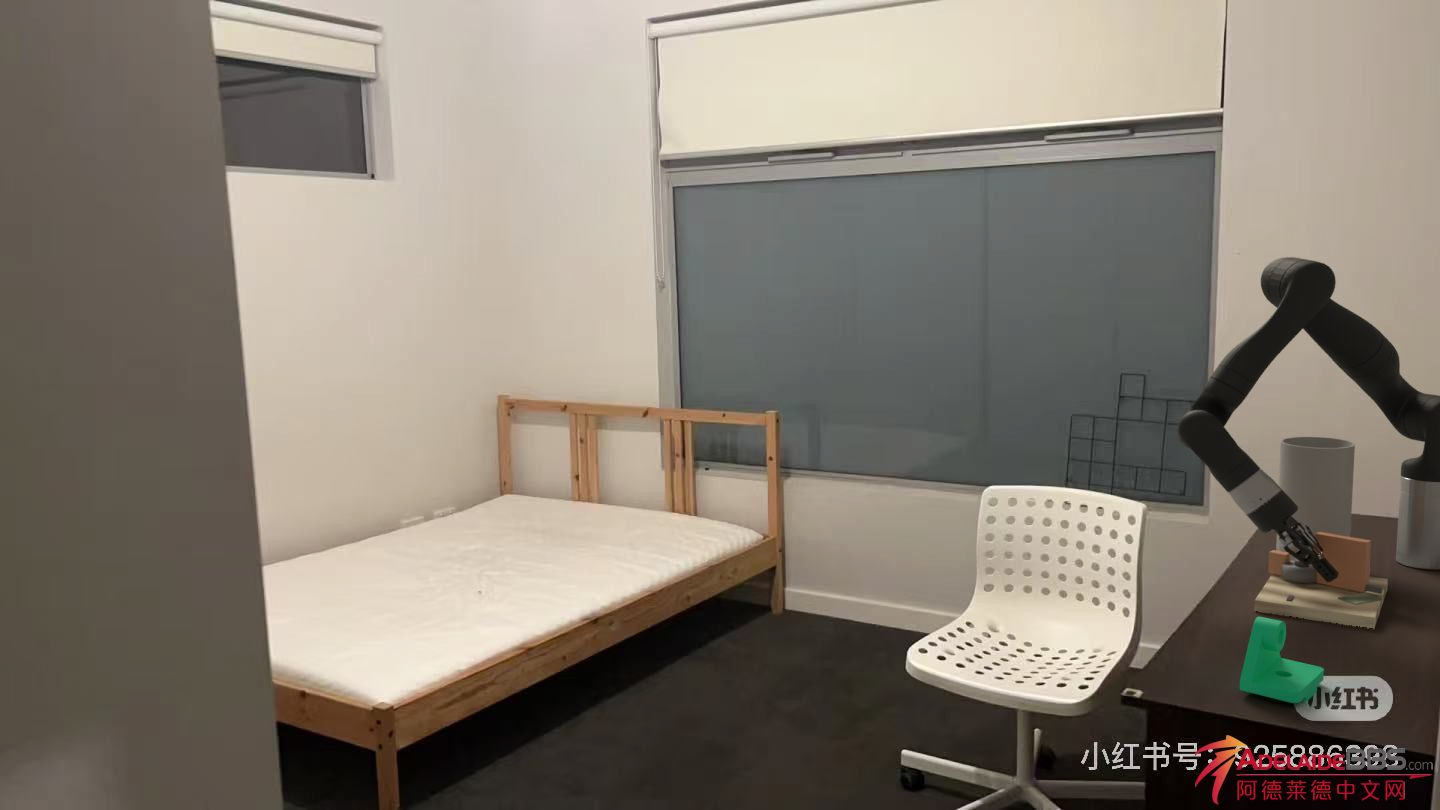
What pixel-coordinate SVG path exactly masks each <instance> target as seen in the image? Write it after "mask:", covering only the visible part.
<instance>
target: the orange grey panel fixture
mask: <svg viewBox="0 0 1440 810" xmlns="http://www.w3.org/2000/svg"><path fill="white" fill-rule="evenodd" d="M1315 538H1316V539H1317V541H1318V543H1319V544H1320V546H1321V547H1322V548H1323V553H1324V555H1325V556H1324V557H1325V558H1326V559H1327V561H1328V562H1329V563H1330V564H1331V565H1332V566H1333V567H1334V568H1335V569H1336V570H1337V571H1338V573H1339V575H1338V577H1337V578H1336V579H1334V580H1333V581H1331V582H1326V581H1325V580H1324V578H1323V577H1322V576H1321V575H1320V574H1319V573H1318V572H1317V571H1316V570H1315V569H1314V567H1313V566H1310V565H1308V566H1306V565H1304V564H1303V563H1302V562H1300V561H1299V560H1298V559H1296V558H1295V559H1294V560H1290V554H1289V553H1287V552H1282V551H1277V550H1275V549H1272V550H1270V551H1269V552H1268V574H1269V573H1270V574H1271V575H1272V574H1277V575H1282V578H1284V579H1286V580H1288V581H1292V582H1298V583H1321V584H1326V585H1330V586H1335V587H1340V588H1345V589H1350V590H1355V591H1359V592H1366V591H1369V592H1374V593H1379V594H1381V593H1382V589H1383V587H1379V586H1374V585H1369V569H1370V570H1371V565H1370V564H1371V546H1372V540H1370V539H1364V538H1359V537H1353V536H1350V537H1348V536H1342V535H1336V534H1330V533H1324V532H1318V533H1316V534H1315ZM1324 557H1323V558H1324Z"/></svg>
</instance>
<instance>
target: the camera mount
mask: <svg viewBox="0 0 1440 810" xmlns="http://www.w3.org/2000/svg"><path fill="white" fill-rule="evenodd" d="M1250 632H1251V633H1250V637H1249V641H1248V644H1247V649H1246V654H1245V656H1244V662H1243V667H1242V671H1241V675H1240V679H1239V690H1240V691H1243V692H1247V693H1249V694H1250V693H1251V694H1253V695H1254V694H1255V695H1259V696H1263V697H1266V698H1271V699H1275V700H1279V701H1283V702H1287V703H1291V704H1299V703H1301V702H1304V703H1307V702H1308V701H1309V700H1310V699H1311V698H1312V697H1313V696H1314V695H1315V694H1316V693H1317V691H1318V686H1319V685H1320V684H1321V683H1322V682H1323V681H1324V673H1325V668H1323V667H1321V666H1318V665H1314V664H1308V663H1304V662H1300V661H1295V660H1293V659H1292V660H1291V659H1288V658H1283V657H1281V653H1280V652H1281V651H1282V649H1283V648H1284V646H1285V643H1286V637H1287V624H1286V622H1285V621H1282V620H1279V619H1273V618H1267V617H1264V616H1263V617H1262V616H1257V617H1256V618H1255V620H1254V621H1253V624H1252V628H1251V631H1250Z"/></svg>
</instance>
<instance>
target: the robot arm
mask: <svg viewBox="0 0 1440 810" xmlns="http://www.w3.org/2000/svg"><path fill="white" fill-rule="evenodd" d="M1334 272H1335V271H1333V269H1332V268H1331V267H1330V266H1329V265H1328V264H1325V263H1324V262H1320V261H1317V260H1310V259H1306V258H1300V257H1295V256H1294V257H1291V256H1289V257H1288V256H1287V257H1280V258H1276V259H1274V260H1272V261H1270V262H1268V264H1267V265H1266V266H1265V267H1264V268H1263V270H1262V272H1261V277H1260V288H1261V291H1262V294H1263V295H1264V297H1265V298H1266V301H1268V302H1269V303H1270V304H1271V305H1273V306H1274V307H1276V309H1275V310H1274V312H1273V314H1272V315H1271V316H1270V317H1269V319H1268V320H1266V321H1265V322H1264V324H1262V325H1261V326H1260V327H1259V328H1258V329H1256V330H1255V331H1254V332H1253V333H1251V334H1249V336H1248V337H1246V338H1245V339H1243V340H1242V341H1241V342H1240V343H1238V344H1237V345H1235V346H1234V347H1233V348H1232V349H1230V351H1229V352H1228V353H1227V354H1226V355H1225V356H1224V358H1222V360H1221V361H1220V363H1219V364H1218V365H1217V367H1216V368H1215V370H1214V371H1213V372H1212V374H1211V376H1210V377H1209V378H1208V380H1207V382H1206V383H1205V385H1204V387H1203V390H1202V391H1201V393H1200V395H1199V396H1198V397H1197V398H1196V400H1195V401H1194V402H1193V404H1192V405H1191V406H1190V407H1189V409H1188V410H1187V412H1186V413H1185V414H1184V415H1182V417H1181V419H1180V420H1179V422H1178V425H1177V427H1176V428H1177V429H1176V434H1177V438H1178V440H1179V441H1180V443H1181V444H1182V445H1183V446H1184V447H1186V448H1187V449H1190V450H1191V451H1192V452H1193V453H1194V454H1195V455H1196V456H1197V457H1198V458H1199V459H1200V460H1201V462H1202V463H1204V464H1205V466H1207V467H1208V470H1209V471H1210V473H1211V475H1212V476H1213V478H1214V479H1215V480H1216V481H1217V482H1218V483H1219V484H1220V486H1221V487H1222V488H1223V489H1224V490H1225V491H1226V492H1227V493H1228V494H1229V496H1230V498H1232V500H1233V501H1234V503H1235V504H1236V506H1238V507H1239V508H1240V510H1241V511H1242V512H1243V513H1244V515H1246V517H1248V519H1249V520H1250V521H1251V523H1253V524H1254V526H1256V528H1258V529H1259V531H1260V532H1261V533H1263V534H1266V533H1269V532H1270V531H1272V530H1274V531H1275V533H1276V535H1277V534H1278V535H1279V537H1280V538H1279V540H1280V541H1281V542H1282V543H1283V544H1284V545H1285V547H1284V549H1285V551H1287V552H1288V553H1289V554H1291V555H1292V556H1293V557H1295V558H1296V559H1298V560H1299V561H1300V562H1302V563H1303V564H1304V565H1306V566H1308V565H1310V566H1313V567H1314V569H1315V570H1316V571H1317V572H1318V573H1319V574H1320V575H1321V576H1322V577H1323V578H1324V580H1325V581H1326V582H1331V581H1333V580H1334V579H1336V578H1337V577H1338V575H1339V573H1338V571H1337V570H1336V569H1335V568H1334V567H1333V566H1332V565H1331V564H1330V563H1329V562H1328V561H1327V559H1326V558H1325V557H1324V556H1325V555H1324V553H1323V548H1322V547H1321V546H1320V544H1319V543H1318V541H1317V539H1316V538H1315V536H1314V535H1313V533H1312V532H1311V530H1310V528H1309V527H1308V526H1307V525H1305V526H1304V525H1303V524H1302V523H1301V522H1299V523H1298V521H1297V520H1295V519H1294V518H1293V517H1292V515H1293V514H1294V513H1295V512H1297V510H1298V506H1297V505H1296V504H1295V503H1294V502H1293V501H1292V500H1291V499H1290V497H1289V496H1288V495H1287V494H1286V493H1285V492H1284V491H1283V490H1282V489H1281V488H1280V487H1279V483H1276V481H1275V480H1274V479H1273V478H1272V477H1271V476H1270V475H1269V474H1267V472H1265V471H1264V470H1262V468H1261V467H1260V466H1259V465H1258V464H1257V462H1255V460H1253V459H1252V458H1251V457H1250V455H1249V454H1248V453H1246V451H1244V450H1243V449H1242V448H1241V446H1239V445H1238V443H1237V442H1236V441H1235V439H1234V438H1233V437H1232V435H1231V434H1230V432H1229V431H1228V430H1227V429H1226V428H1225V426H1226V425H1227V423H1228V422H1229V420H1230V418H1231V417H1232V415H1233V413H1234V412H1235V411H1236V410H1237V409H1238V408H1239V407H1240V405H1241V404H1242V403H1243V402H1244V401H1245V400H1246V398H1247V397H1248V395H1249V393H1250V392H1251V391H1252V389H1253V388H1254V387H1255V385H1256V384H1257V383H1258V381H1259V379H1260V378H1261V377H1262V375H1263V374H1264V373H1265V371H1266V370H1267V368H1269V366H1270V365H1271V363H1272V362H1273V361H1274V360H1275V359H1276V358H1277V356H1279V354H1281V352H1282V351H1283V350H1284V349H1285V348H1286V347H1287V346H1288V345H1289V344H1290V343H1291V342H1292V341H1293V340H1294V339H1295V338H1296V336H1297V335H1298V334H1299V333H1300V332H1301V331H1302V330H1304V332H1306V334H1307V335H1308V336H1309V337H1310V338H1311V339H1312V340H1313V341H1314V342H1315V343H1316V345H1318V346H1319V347H1320V349H1321V350H1322V351H1324V353H1325V354H1326V355H1327V356H1328V357H1329V358H1330V359H1331V360H1332V362H1334V364H1336V366H1338V368H1339V369H1341V371H1342V372H1343V373H1345V375H1346V376H1347V377H1349V378H1350V379H1351V380H1352V381H1353V382H1354V383H1355V384H1356V385H1357V386H1358V387H1359V388H1360V389H1361V390H1362V391H1363V392H1364V393H1365V394H1366V395H1367V396H1368V397H1369V398H1370V399H1371V400H1372V401H1373V402H1374V403H1375V404H1376V406H1377V407H1378V408H1379V409H1380V411H1381V413H1383V415H1384V416H1385V417H1386V419H1387V420H1388V421H1389V423H1390V425H1392V427H1393V428H1394V429H1395V430H1396V431H1397V432H1398V433H1399V434H1400V435H1401V436H1402V437H1405V438H1407V439H1409V440H1413V441H1418V442H1422V443H1423V442H1424V443H1423V444H1424V445H1423V449H1422V450H1423V451H1422V453H1421V455H1419V456H1418V457H1417V456H1416V457H1414V458H1413V457H1411V458H1408V459H1405V460H1403V461H1402V463H1401V466H1400V478H1399V481H1400V482H1399V498H1398V499H1399V500H1398V514H1397V515H1398V517H1397V533H1396V536H1397V537H1396V555H1395V561H1396V562H1397V563H1399V564H1401V565H1404V566H1406V567H1407V566H1408V567H1410V568H1415V569H1423V570H1440V395H1438V394H1429V393H1424V392H1422V391H1419V390H1417V389H1416V388H1415V387H1413V385H1411V384H1410V383H1409V382H1408V381H1407V380H1406V379H1405V378H1404V377H1403V376H1402V375H1401V372H1400V365H1401V362H1400V356H1399V353H1398V350H1397V349H1396V347H1395V346H1394V344H1392V342H1391V341H1390V340H1389V339H1388V338H1387V337H1386V336H1385V335H1384V334H1383V333H1382V332H1381V331H1380V330H1379V329H1378V328H1377V327H1375V326H1374V325H1373V324H1372V323H1370V322H1369V321H1368V320H1366V319H1365V318H1363V317H1361V316H1360V315H1358V314H1356V313H1355V312H1353V311H1351V310H1350V309H1349V308H1346V307H1345V306H1343V305H1342V304H1340V303H1337V302H1336V301H1335V300H1333V299H1332V296H1333V294H1334V292H1335V288H1336V283H1337V280H1336V275H1335V273H1334ZM1323 557H1324V558H1323Z"/></svg>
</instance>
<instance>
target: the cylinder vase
mask: <svg viewBox="0 0 1440 810" xmlns="http://www.w3.org/2000/svg"><path fill="white" fill-rule="evenodd" d="M1279 446H1280V447H1279V449H1280V450H1279V472H1278V473H1279V476H1278V486H1279V487H1280V488H1281V489H1282V490H1283V491H1284V492H1285V493H1286V494H1287V495H1288V496H1289V497H1290V499H1291V500H1292V501H1293V502H1294V503H1295V504H1296V505H1297V506H1298V510H1297V512H1295V513H1294V514H1293V515H1292V517H1293V518H1294V519H1295V520H1297V521H1298V523H1299V522H1301V523H1302V524H1303V525H1304V526H1305V525H1307V526H1308V527H1309V528H1310V530H1311V532H1312V533H1313V535H1314V536H1315V534H1316V533H1318V532H1324V533H1330V534H1336V535H1342V536H1348V537H1351V532H1352V531H1351V529H1352V510H1353V508H1352V507H1353V494H1354V493H1353V491H1354V490H1353V489H1354V488H1353V487H1354V474H1355V473H1354V470H1355V452H1356V451H1355V450H1356V444H1355V443H1354V442H1353V441H1350V440H1346V439H1342V438H1333V437H1323V436H1293V437H1286V438H1282V439H1280V445H1279ZM1279 538H1280V537H1279V535H1278V534H1277V533H1276V545H1275V547H1276V550H1277V551H1282V552H1287V551H1285V549H1284V547H1285V545H1284V544H1283V543H1282V542H1281V541H1280V540H1279ZM1287 553H1288V552H1287ZM1294 559H1295V557H1293V556H1292V555H1291V554H1290V560H1294Z"/></svg>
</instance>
